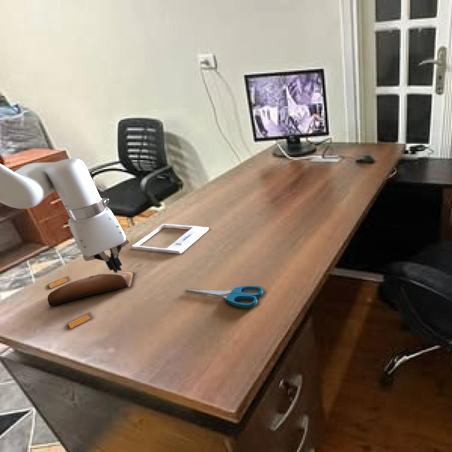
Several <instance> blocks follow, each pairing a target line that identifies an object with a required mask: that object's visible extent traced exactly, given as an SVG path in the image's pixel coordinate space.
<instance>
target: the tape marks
mask: <svg viewBox="0 0 452 452" xmlns="http://www.w3.org/2000/svg"><path fill="white" fill-rule="evenodd" d="M67 282H68V279H67V278H66V277H63V278H61V279H59V280H56V281H54V282H52V283H50V284H48V287H49V288H50V289H53V288H56V287H57V286H59V285H62V284H63V285H64V284H65V283H67ZM90 320H91V318H90V316H89V315H88V314H85V315H82V316H81V317H78V318H76V319H74V320H72V321H70V322H68V327H69V329H70V330H72V329H74V328H76V327H77V326H79V325H82V324H83V323H86V322H88V321H90Z"/></svg>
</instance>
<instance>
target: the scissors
mask: <svg viewBox="0 0 452 452" xmlns="http://www.w3.org/2000/svg"><path fill="white" fill-rule="evenodd" d="M186 290H187V292H191V293H197V294H198V293H199V294H205V295H210V296H216V297H221V298H223V299H225V300H226V302H227V303H229V305H233V306H235V307H237V308H245V309H251V308H253V307H255V306H257V304H258V299H259V298H260V297H262V296H263V295H264V290H263V287H262V286H259V285H244V286H243V285H242V286H238V287H234V288H233V289H228V290H215V289H214V290H213V289H194V288H193V289H192V288H187V289H186ZM244 291H259V292H257V293H248V292H244ZM238 300H251V301H252V302H249V303H244V302H238Z"/></svg>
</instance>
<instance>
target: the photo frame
mask: <svg viewBox="0 0 452 452" xmlns="http://www.w3.org/2000/svg"><path fill="white" fill-rule="evenodd" d="M164 228H169V229H170V228H172V229H183V230H188V231H186V232H185V233H184V234H183V235H181V236H180V237H179V238H177V239H176V240H175V241H174V242H173V243H171V244H170V245H169V246H167V247H157V246H156V247H155V246H145V245H142V244H144V242H146V241H147V240H149V239H150V238H151V237H153V236H154V235H155V234H157V233H159V232H160V231H162V229H164ZM209 229H210V228H209V227H208V226H196V225H187V224H186V225H184V224H172V223H162V224H161V225H160V226H158V227H157V228H155V229H154V230H152V231H150V232H149V233H148V234H146V235H145V236H143V237H142V238H140V240H138V241H137V242H135V243H134V244H132V245H131V248H132V249H133V250H142V251H152V252H160V253H169V254H182V253H184V251H186V250H187V249H188V248H189V247H190V246H192V244H194V243H195V242H197V240H199V239H200V238H201V237H202V236H203V235H204V234H206V233H207V232H208V231H209Z"/></svg>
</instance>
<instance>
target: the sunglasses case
mask: <svg viewBox="0 0 452 452" xmlns="http://www.w3.org/2000/svg"><path fill="white" fill-rule="evenodd" d="M133 277H134V273H133V272H132V271H119V272H116V273H115V272H113V273H112V272H111V273H98V274H95V275H90V276H85V277H83V278H80V279H76V280H73V281H70V282H68V283H66V284H63V285H61V286H60V287H58V288H56V289H55V290H53V291H51V292H49V294H48V295H47V303H48V305H49V306H50V307H54V306H57V305H61V304H64V303H67V302H70V301H75V300H77V299H80V298H84V297H89V296H93V295H96V294H101V293H105V292H109V291H114V290H117V289H122V288H130V287H131V285H132V282H133V279H134V278H133Z"/></svg>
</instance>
